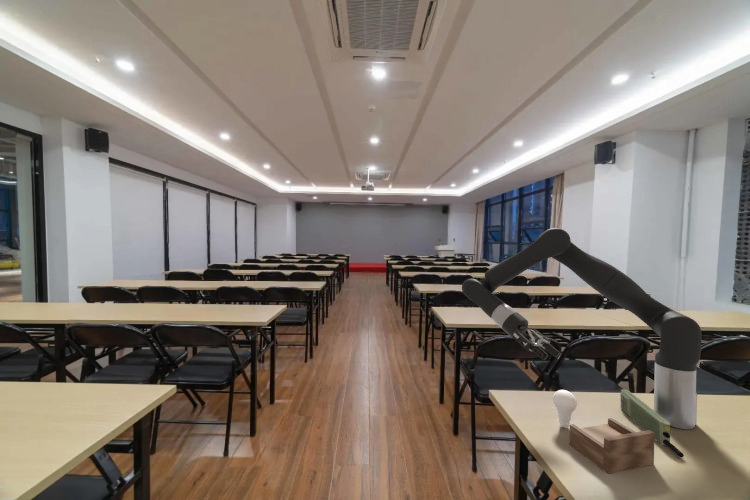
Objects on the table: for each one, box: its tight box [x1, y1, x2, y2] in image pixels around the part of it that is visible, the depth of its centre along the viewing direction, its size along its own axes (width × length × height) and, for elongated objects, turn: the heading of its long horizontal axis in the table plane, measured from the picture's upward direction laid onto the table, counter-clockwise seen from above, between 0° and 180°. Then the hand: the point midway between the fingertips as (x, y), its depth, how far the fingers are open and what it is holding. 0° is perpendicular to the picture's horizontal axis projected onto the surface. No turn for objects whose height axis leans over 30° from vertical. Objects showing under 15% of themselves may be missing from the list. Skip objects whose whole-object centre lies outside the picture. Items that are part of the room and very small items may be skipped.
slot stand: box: [569, 417, 655, 475], centre depth 83 cm, size 14×11×8 cm
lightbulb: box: [552, 389, 578, 429], centre depth 94 cm, size 6×6×11 cm
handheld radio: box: [620, 389, 685, 459], centre depth 93 cm, size 7×3×25 cm
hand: (552, 356), depth 95 cm, fingers open, 8 cm apart
